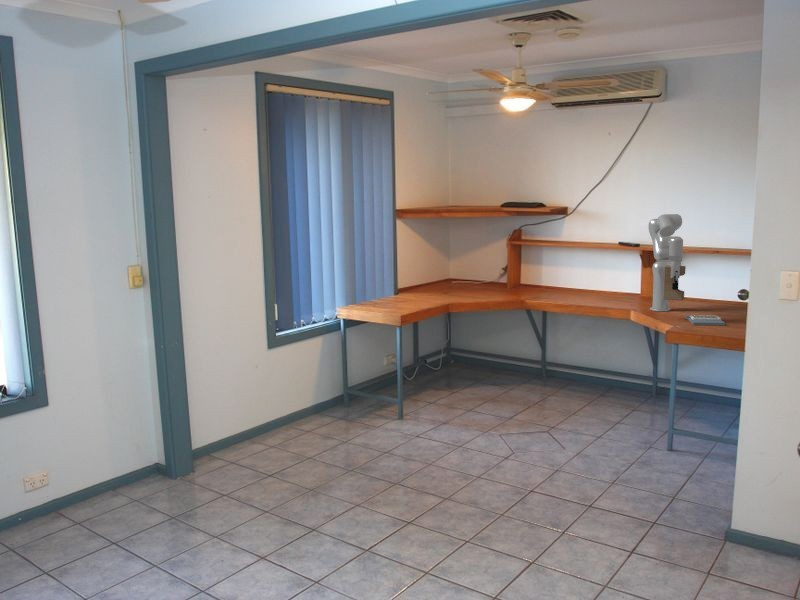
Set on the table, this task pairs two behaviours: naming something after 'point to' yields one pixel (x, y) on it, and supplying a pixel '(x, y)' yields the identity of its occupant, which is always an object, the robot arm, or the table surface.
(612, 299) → the table surface
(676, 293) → the decorative block
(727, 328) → the table surface
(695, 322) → the board
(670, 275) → the robot arm
